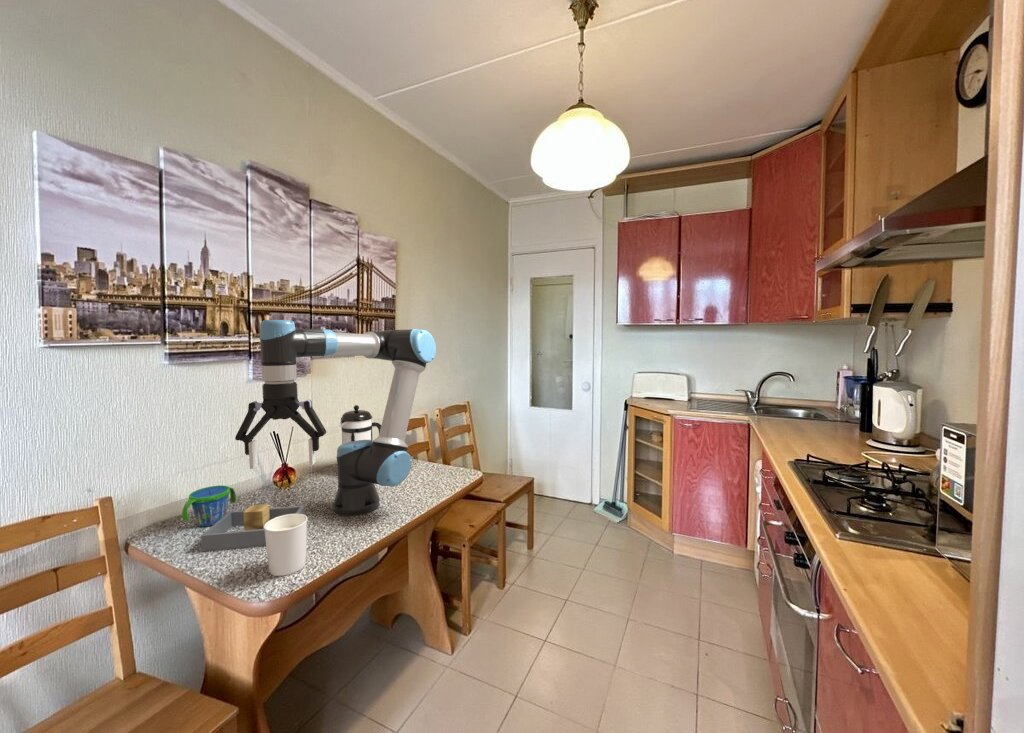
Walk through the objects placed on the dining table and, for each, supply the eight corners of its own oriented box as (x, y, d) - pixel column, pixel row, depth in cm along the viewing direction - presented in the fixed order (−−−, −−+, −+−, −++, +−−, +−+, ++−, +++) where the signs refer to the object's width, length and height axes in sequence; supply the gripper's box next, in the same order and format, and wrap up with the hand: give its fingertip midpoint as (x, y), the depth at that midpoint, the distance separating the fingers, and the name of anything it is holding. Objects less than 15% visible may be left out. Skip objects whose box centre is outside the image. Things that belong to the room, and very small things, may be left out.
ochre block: (270, 529, 124) (268, 504, 123) (263, 537, 119) (262, 511, 118) (252, 531, 123) (250, 505, 122) (244, 539, 118) (243, 512, 117)
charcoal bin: (305, 518, 131) (304, 505, 130) (288, 543, 115) (287, 528, 115) (229, 525, 126) (229, 511, 126) (201, 551, 111) (200, 536, 110)
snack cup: (193, 536, 120) (191, 503, 119) (173, 529, 124) (171, 497, 123) (246, 515, 134) (245, 485, 133) (227, 509, 138) (225, 480, 137)
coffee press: (372, 478, 168) (370, 408, 166) (334, 479, 168) (331, 408, 166) (384, 465, 186) (383, 401, 183) (350, 465, 185) (347, 401, 183)
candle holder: (288, 554, 109) (286, 511, 108) (317, 559, 106) (316, 516, 106) (256, 574, 100) (253, 527, 99) (287, 581, 97) (285, 533, 96)
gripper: (336, 379, 106) (339, 457, 108) (231, 381, 101) (235, 464, 103) (329, 382, 99) (332, 466, 100) (215, 385, 94) (220, 473, 95)
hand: (283, 465), depth 101 cm, fingers open, 13 cm apart
